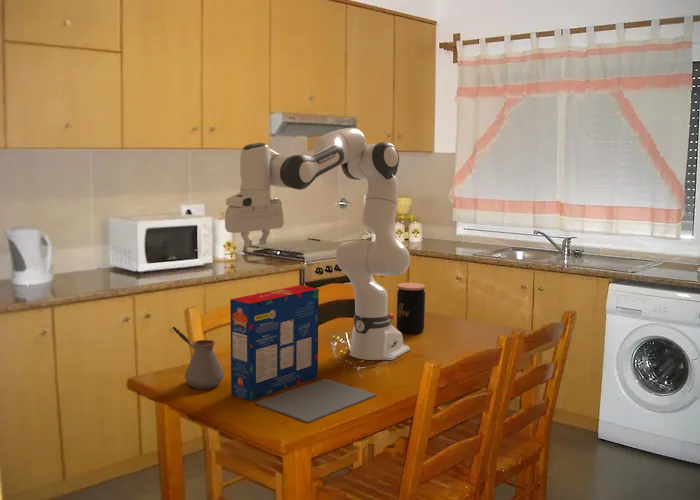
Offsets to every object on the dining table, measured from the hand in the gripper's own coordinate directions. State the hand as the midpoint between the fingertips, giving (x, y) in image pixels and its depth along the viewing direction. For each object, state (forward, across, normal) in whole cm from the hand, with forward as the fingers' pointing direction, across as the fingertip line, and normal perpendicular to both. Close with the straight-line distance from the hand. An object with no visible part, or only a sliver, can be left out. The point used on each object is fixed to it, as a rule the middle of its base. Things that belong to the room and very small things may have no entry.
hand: (255, 245), depth 213 cm
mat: (+41, 0, +26) cm, 49 cm away
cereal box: (+41, 0, +9) cm, 42 cm away
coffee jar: (+41, -79, 0) cm, 89 cm away
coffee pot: (+41, +14, -12) cm, 45 cm away
